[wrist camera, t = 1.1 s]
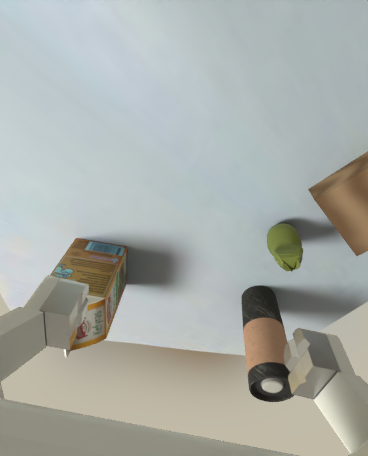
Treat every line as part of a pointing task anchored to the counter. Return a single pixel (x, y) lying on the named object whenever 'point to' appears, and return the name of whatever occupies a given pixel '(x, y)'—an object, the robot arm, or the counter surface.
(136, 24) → the counter surface
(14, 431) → the robot arm
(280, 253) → the pear
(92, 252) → the milk carton
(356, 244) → the block
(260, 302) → the travel mug
